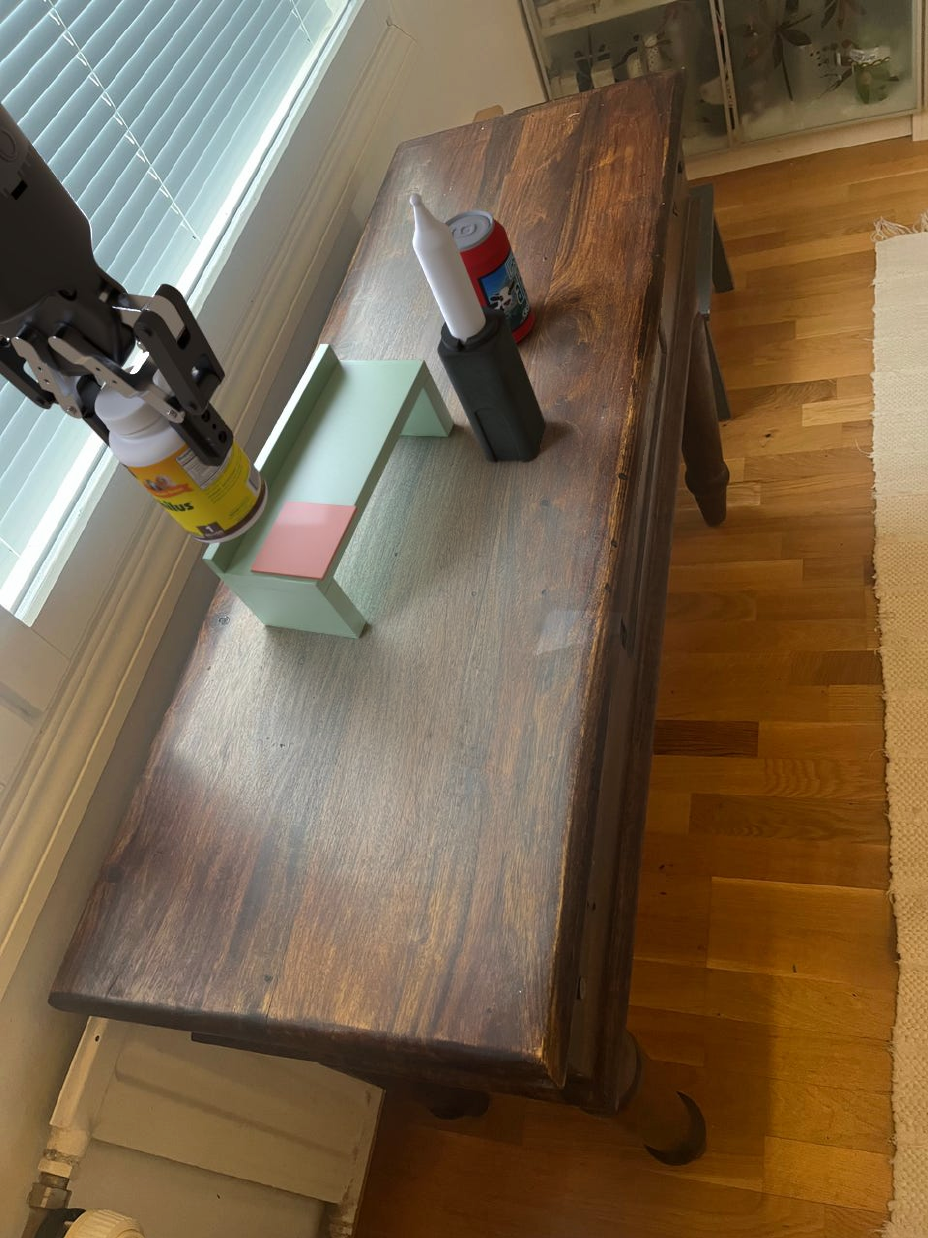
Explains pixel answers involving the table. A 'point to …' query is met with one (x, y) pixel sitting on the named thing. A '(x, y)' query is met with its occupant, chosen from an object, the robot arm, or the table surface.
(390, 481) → the table surface
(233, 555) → the shelf
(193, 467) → the supplement bottle
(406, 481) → the table surface
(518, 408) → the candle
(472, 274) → the beverage can
